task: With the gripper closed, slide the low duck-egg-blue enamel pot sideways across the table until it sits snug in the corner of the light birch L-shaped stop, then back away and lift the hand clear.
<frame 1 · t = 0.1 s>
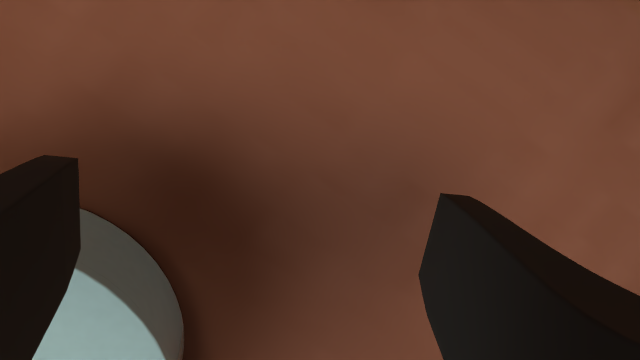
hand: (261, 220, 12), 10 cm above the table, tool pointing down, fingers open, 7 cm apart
pot: (28, 339, 24), on the table
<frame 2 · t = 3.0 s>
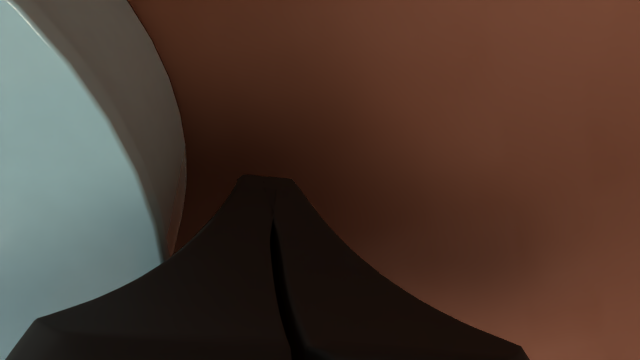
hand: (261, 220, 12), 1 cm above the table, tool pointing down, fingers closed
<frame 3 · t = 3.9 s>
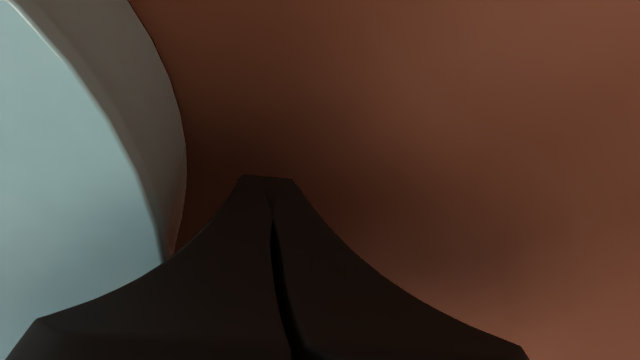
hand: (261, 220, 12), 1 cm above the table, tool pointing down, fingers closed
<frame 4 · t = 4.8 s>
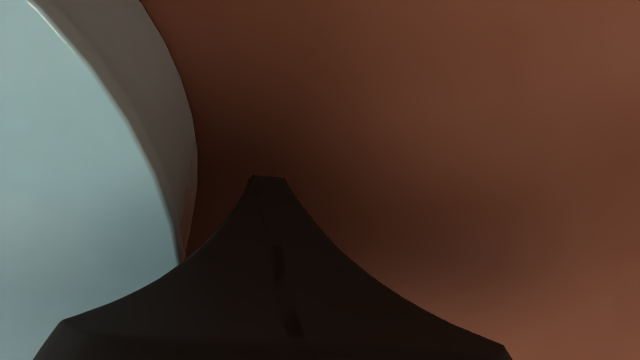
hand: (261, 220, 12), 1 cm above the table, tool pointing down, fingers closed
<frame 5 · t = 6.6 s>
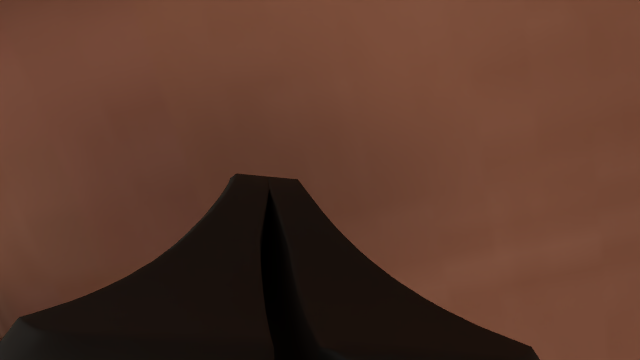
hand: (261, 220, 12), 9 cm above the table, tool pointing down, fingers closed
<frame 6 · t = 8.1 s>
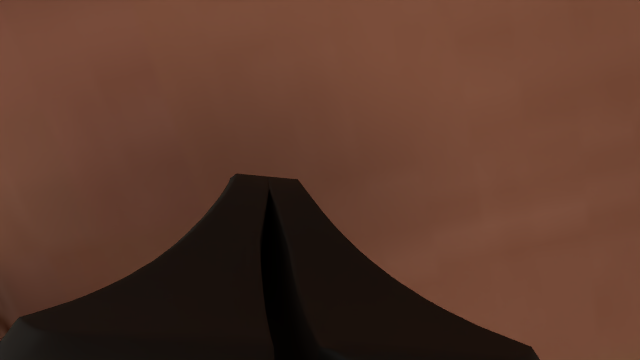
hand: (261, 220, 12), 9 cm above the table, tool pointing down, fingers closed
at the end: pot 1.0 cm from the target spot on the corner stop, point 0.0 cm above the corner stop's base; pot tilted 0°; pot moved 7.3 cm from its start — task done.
